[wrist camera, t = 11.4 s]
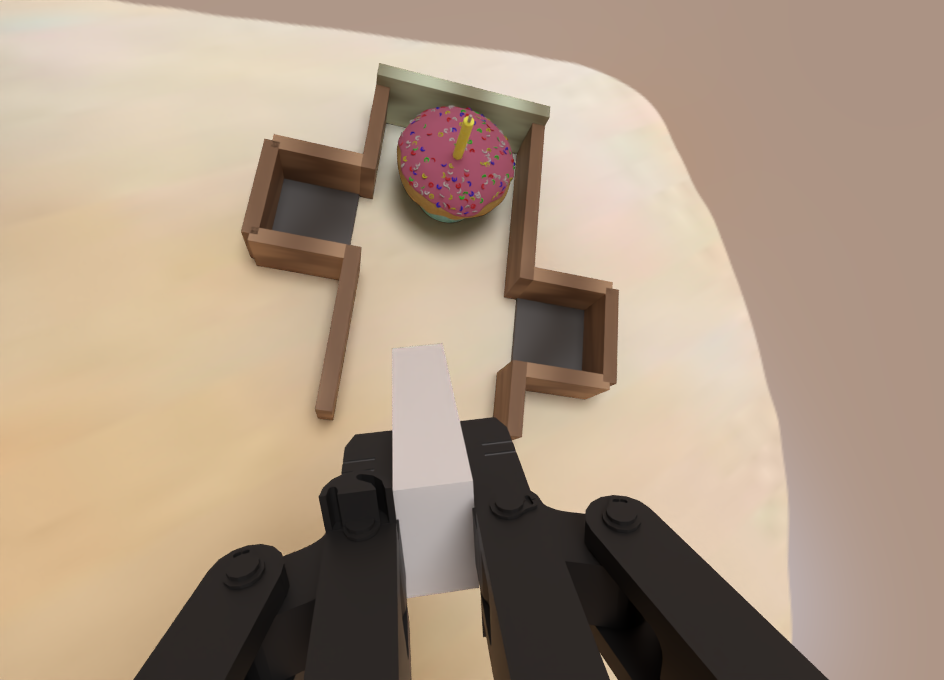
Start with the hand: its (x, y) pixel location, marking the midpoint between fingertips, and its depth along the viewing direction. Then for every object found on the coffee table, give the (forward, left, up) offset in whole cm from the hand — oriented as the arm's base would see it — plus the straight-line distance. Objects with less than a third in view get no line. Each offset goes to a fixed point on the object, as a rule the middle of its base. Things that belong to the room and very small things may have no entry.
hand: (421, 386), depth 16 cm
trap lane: (+2, +13, -22) cm, 25 cm away
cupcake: (+2, +20, -22) cm, 30 cm away
